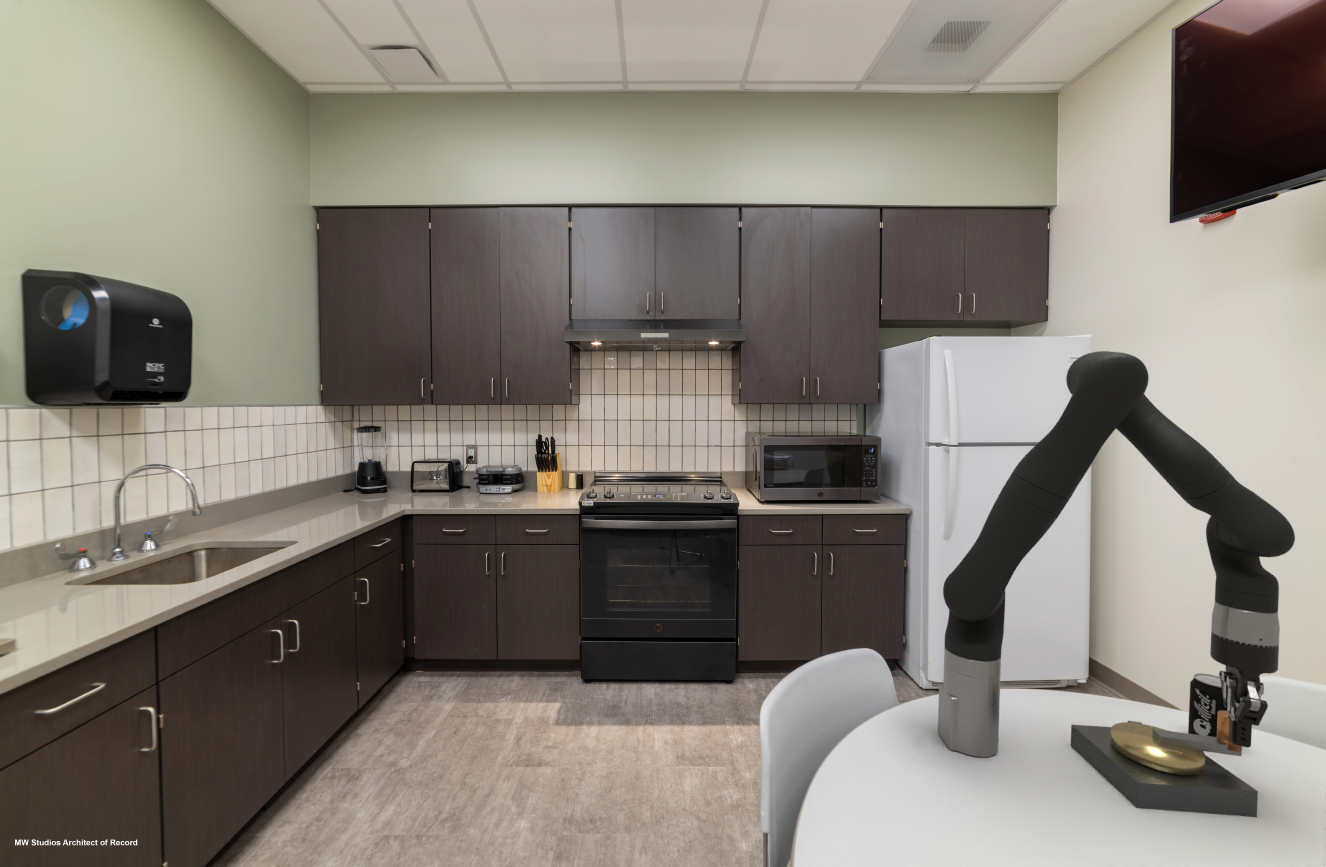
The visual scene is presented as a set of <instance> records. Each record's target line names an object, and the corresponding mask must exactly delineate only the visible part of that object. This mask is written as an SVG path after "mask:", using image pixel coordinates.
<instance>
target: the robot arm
mask: <svg viewBox="0 0 1326 867" xmlns="http://www.w3.org/2000/svg"><path fill="white" fill-rule="evenodd" d="M1065 378H1066V379H1065V380H1066V386H1067V389H1068V391H1069V393H1070V394H1071V397H1070V399H1069V401H1068V403H1067V405H1066V407H1065V408H1064V410H1063V412H1062V414H1061V416H1060V417H1059V419H1058V421H1057V422H1056V423H1055V425H1054V426H1053V427H1052V429H1050V431H1049V432H1048V433H1047V434H1046V435H1045V436H1044V437H1042V439H1041V440H1040V441H1038V442H1037V443H1036V444H1035V445H1034V446H1033V447H1032V448H1031V449H1029V451H1028V452H1027V453H1026V454H1025V455H1024V456H1023V457H1022V458H1021V460H1020V461H1019V462H1018V463H1017V465H1015V467H1014V469H1013V471H1012V472H1011V474H1010V476H1009V477H1008V479H1007V480H1006V482H1005V484H1004V485H1003V487H1002V489H1001V490H1000V493H999V494H998V496H997V497H996V500H994V504H993V506H992V507H991V509H990V511H989V512H988V513H989V514H988V516H987V517H986V520H985V522H984V524H983V526H982V529H981V531H980V533H979V535H978V537H977V539H976V541H975V542H974V543H973V545H972V546H971V548H969V550H968V552H967V553H966V554H965V556H963V558H962V560H960V562H959V564H957V566H956V567H955V568H954V570H952V572H951V573H949V574H948V575H947V577H946V579H945V581H944V583H943V586H942V594H943V600H944V602H945V605H946V607H947V608H948V619H947V625H946V629H945V633H944V649H943V650H944V651H943V652H944V653H943V654H944V655H943V658H944V659H943V683H939V684H938V706H937V707H938V709H937V710H938V713H937V733H938V735H939V736H940V737H941V739H942V740H943V742H944V743H945V745H946V747H947V748H948V749H949V751H956V752H959V753H962V754H965V755H969V756H972V757H980V758H982V757H983V758H985V757H986V758H989V757H993V756H995V755H997V753H998V752H999V741H1000V740H999V739H1000V737H999V735H1000V734H999V733H1000V732H999V730H1000V729H999V728H1000V701H1001V700H1000V698H1001V696H1000V695H1001V669H1002V665H1001V664H1002V647H1003V641H1004V633H1005V632H1004V631H1005V617H1006V616H1005V615H1006V614H1005V612H1006V589H1007V587H1008V586H1009V583H1010V581H1011V579H1012V576H1013V575H1014V574H1015V571H1016V569H1017V567H1018V566H1019V565H1020V563H1021V562H1022V560H1024V558H1025V557H1026V556H1027V555H1028V554H1029V553H1030V552H1031V550H1032V549H1033V548H1034V547H1036V545H1037V544H1038V543H1039V542H1040V540H1041V539H1042V538H1043V537H1044V536H1045V534H1046V533H1047V532H1048V531H1049V529H1050V528H1051V527H1052V526H1053V525H1054V523H1055V522H1056V521H1057V519H1058V517H1059V516H1060V515H1061V513H1062V511H1063V510H1064V509H1065V507H1066V505H1067V504H1068V502H1069V501H1070V499H1071V498H1072V497H1073V494H1074V493H1075V491H1076V489H1077V488H1078V486H1079V484H1080V483H1081V481H1082V480H1083V478H1084V476H1085V475H1086V473H1087V472H1088V470H1089V469H1090V467H1091V465H1092V464H1093V463H1094V461H1095V459H1096V457H1097V455H1098V454H1099V452H1100V450H1101V449H1102V447H1103V445H1104V444H1105V443H1107V442H1106V441H1107V440H1108V439H1109V437H1110V436H1111V435H1112V434H1113V433H1114V431H1115V430H1117V431H1118V432H1119V433H1120V434H1122V436H1123V437H1125V439H1127V440H1128V441H1129V442H1130V444H1131V445H1133V447H1135V449H1137V451H1138V452H1139V453H1140V455H1142V456H1143V457H1144V458H1145V459H1146V461H1147V462H1148V463H1149V464H1150V465H1151V466H1152V468H1154V469H1155V471H1156V472H1157V473H1158V474H1159V475H1160V476H1161V477H1162V478H1163V479H1164V480H1165V482H1166V483H1167V484H1168V485H1169V486H1170V487H1171V488H1172V489H1173V490H1174V491H1175V492H1176V494H1178V495H1179V497H1181V499H1182V500H1184V502H1186V504H1188V505H1189V506H1191V507H1192V508H1193V509H1195V510H1198V511H1200V512H1203V513H1204V514H1207V515H1209V516H1210V517H1209V519H1208V520H1207V523H1206V527H1205V537H1206V538H1205V539H1206V543H1207V547H1208V551H1209V555H1210V560H1211V563H1212V566H1213V570H1214V573H1215V584H1214V586H1215V587H1214V604H1213V605H1214V606H1213V609H1212V614H1211V627H1210V628H1211V630H1210V632H1211V633H1210V657H1211V659H1213V661H1216V662H1217V663H1220V664H1221V665H1224V666H1225V670H1219V672H1218V676H1219V677H1220V681H1221V687H1222V693H1223V700H1224V706H1225V708H1227V713H1228V716H1230V721H1229V739H1230V740H1231V742H1232V743H1233V744H1235V745H1238V746H1242V748H1250V747H1251V746H1252V730H1253V729H1252V728H1253V726H1257V727H1258V726H1260V725H1261V722H1262V719H1263V717H1264V716H1265V713H1266V711H1267V710H1268V707H1269V704H1268V701H1267V700H1263V699H1262V696H1263V695H1264V694H1265V693H1264V691H1265V685H1264V682H1261V677H1260V676H1261V675H1263V674H1268V675H1269V674H1275V673H1276V672H1277V671H1278V670H1279V655H1280V654H1279V653H1280V633H1281V631H1280V626H1281V625H1280V620H1279V598H1280V597H1279V596H1280V595H1279V594H1280V585H1279V581H1278V579H1277V577H1276V576H1275V575H1273V574H1272V573H1271V572H1269V571H1268V570H1267V569H1265V567H1263V564H1262V563H1261V558H1275V557H1276V558H1277V557H1280V556H1283V555H1285V554H1287V553H1288V552H1290V551H1291V549H1292V548H1293V546H1294V545H1295V541H1296V535H1295V530H1294V528H1293V526H1292V524H1291V523H1290V521H1289V520H1288V518H1286V516H1285V515H1284V514H1282V513H1281V512H1280V511H1279V510H1278V509H1277V508H1275V507H1274V506H1273V505H1272V504H1271V503H1269V502H1268V501H1266V500H1265V499H1264V498H1262V497H1261V496H1259V494H1256V492H1254V491H1252V490H1251V489H1250V488H1248V487H1246V486H1244V485H1243V484H1241V483H1240V482H1239V481H1238V480H1237V479H1236V478H1235V477H1234V475H1232V473H1230V471H1229V470H1228V469H1227V468H1226V467H1225V466H1224V465H1223V464H1222V463H1221V462H1220V461H1219V460H1218V459H1217V458H1216V457H1215V456H1214V455H1213V454H1212V452H1210V451H1209V450H1208V449H1207V448H1206V447H1205V446H1203V445H1202V444H1201V443H1200V442H1199V441H1197V440H1196V439H1195V438H1194V437H1192V436H1191V435H1190V434H1188V433H1187V432H1186V431H1185V430H1183V429H1182V428H1181V427H1180V426H1178V424H1175V422H1173V421H1172V420H1171V419H1170V418H1168V416H1166V415H1165V414H1164V413H1163V412H1162V411H1161V410H1160V409H1158V408H1157V407H1156V405H1154V404H1153V402H1151V401H1150V399H1149V398H1148V397H1147V396H1146V395H1145V392H1146V390H1147V388H1148V386H1149V378H1150V377H1149V372H1148V369H1147V366H1146V364H1145V363H1144V362H1143V361H1142V360H1140V358H1138V357H1137V356H1134V355H1133V354H1129V353H1125V352H1119V351H1110V350H1109V351H1108V350H1107V351H1105V350H1103V351H1101V350H1100V351H1094V352H1093V351H1092V352H1088V353H1086V354H1083V355H1081V356H1080V357H1078V358H1076V359H1075V360H1074V361H1073V362H1072V363H1071V364H1070V366H1069V367H1068V370H1067V373H1066V377H1065Z"/></svg>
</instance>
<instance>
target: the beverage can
mask: <svg viewBox="0 0 1326 867" xmlns="http://www.w3.org/2000/svg"><path fill="white" fill-rule="evenodd" d="M1188 702H1189V704H1188V724H1187V726H1188V727H1187V729H1188V731H1187V732H1188V734H1195V735H1203V736H1211V737H1217V716H1218V711H1220V710H1222V711H1227V708H1225V706H1224V700H1223V693H1222V687H1221V681H1220V676H1219V675H1215V674H1210V673H1204V672H1197V673H1194V674H1193V678H1192V679H1191V680H1190V683H1189V700H1188Z"/></svg>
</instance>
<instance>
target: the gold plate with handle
mask: <svg viewBox="0 0 1326 867" xmlns="http://www.w3.org/2000/svg"><path fill="white" fill-rule="evenodd" d="M1229 721H1230V716H1228V713H1227V711H1222V710H1220V711H1218V716H1217V737H1211V736H1203V735H1195V734H1189V733H1186V732H1179V731H1173V730H1166V729H1164V728H1161V727H1157V726H1153V725H1149V724H1146V723H1145V724H1144V723H1142V722H1141V721H1133V720H1127V722H1126V721H1125V722H1124V721H1123V722H1118V723H1115V724H1113V725H1112V726H1110V727H1111V743H1112V745H1113V746H1114V747H1115V748H1116V749H1117V750H1118V751H1119V752H1120V753H1122V754H1123V755H1125V756H1127V757H1128V758H1130V759H1132V760H1134V761H1136V762H1138V763H1140V764H1143V765H1145V766H1148V767H1151V768H1154V769H1157V770H1160V771H1164V772H1168V773H1173V774H1180V775H1197V774H1200V773H1202V772H1203V771H1204V769H1205V755H1206V753H1205V752H1208V753H1215V754H1221V755H1230V756H1236V757H1242V756H1243V754H1242V753H1243V746H1238V745H1235V744H1233V743H1232V742H1231V740H1230V739H1229Z"/></svg>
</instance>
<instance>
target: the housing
mask: <svg viewBox="0 0 1326 867" xmlns="http://www.w3.org/2000/svg"><path fill="white" fill-rule="evenodd" d="M1111 727H1112V726H1099V725H1086V724H1085V725H1082V724H1071V725H1070V747H1071V748H1072V749H1073V750H1074V751H1075V752H1076V753H1078V754H1079V756H1081V757H1082V758H1083V759H1084V760H1085V761H1086V762H1087V763H1088V764H1089V765H1090V766H1091V767H1093V768H1094V769H1095V770H1096V771H1097V772H1098V773H1099V774H1100V775H1101V777H1103V778H1105V779H1106V781H1108V782H1109V783H1110V784H1111V785H1112V786H1113V787H1114V788H1115V789H1116V790H1117V791H1118V792H1120V793H1121V794H1122V795H1123V796H1124V797H1125V798H1126V799H1127V800H1128V802H1130V803H1131V804H1132V805H1133V806H1134V807H1136V808H1137V809H1148V810H1157V811H1159V810H1161V811H1172V812H1173V811H1175V812H1188V813H1200V814H1213V815H1226V816H1237V817H1238V816H1239V817H1252V818H1258V802H1259V801H1258V800H1259V791H1258V790H1257V789H1255V788H1254V787H1252V786H1251V785H1249V784H1248V783H1246V781H1244V780H1242V779H1241V778H1240V777H1238V776H1236V775H1235V774H1234V773H1232V772H1231V771H1229V770H1228V769H1227V768H1225V767H1224V766H1223V765H1221V764H1219V763H1218V762H1216V761H1215V760H1214V759H1212V758H1211V757H1210V756H1208V755H1206V754H1205V769H1204V771H1203V772H1202V773H1200V774H1197V775H1180V774H1173V773H1168V772H1164V771H1160V770H1157V769H1154V768H1151V767H1148V766H1145V765H1143V764H1140V763H1138V762H1136V761H1134V760H1132V759H1130V758H1128V757H1127V756H1125V755H1123V754H1122V753H1120V752H1119V751H1118V750H1117V749H1116V748H1115V747H1114V746H1113V745H1112V743H1111Z"/></svg>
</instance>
